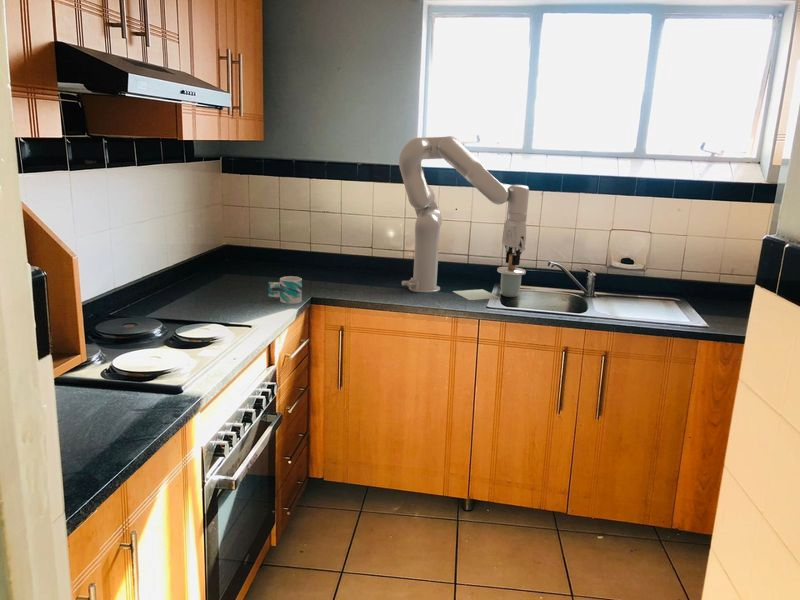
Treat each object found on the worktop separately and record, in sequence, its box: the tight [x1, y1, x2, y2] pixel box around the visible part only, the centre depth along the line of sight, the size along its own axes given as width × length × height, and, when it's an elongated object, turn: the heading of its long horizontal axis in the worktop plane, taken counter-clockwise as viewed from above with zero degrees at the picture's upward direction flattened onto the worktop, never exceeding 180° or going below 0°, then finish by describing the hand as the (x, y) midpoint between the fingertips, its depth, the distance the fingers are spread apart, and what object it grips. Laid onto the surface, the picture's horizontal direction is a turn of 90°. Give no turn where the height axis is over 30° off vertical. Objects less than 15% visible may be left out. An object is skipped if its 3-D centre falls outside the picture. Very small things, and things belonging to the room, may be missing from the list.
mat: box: [451, 288, 501, 301], centre depth 261 cm, size 14×14×1 cm
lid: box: [496, 254, 527, 276], centre depth 259 cm, size 11×11×7 cm
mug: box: [267, 275, 303, 305], centre depth 240 cm, size 8×12×8 cm
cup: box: [500, 273, 522, 298], centre depth 262 cm, size 8×8×10 cm
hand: (512, 263), depth 259 cm, fingers open, 3 cm apart
